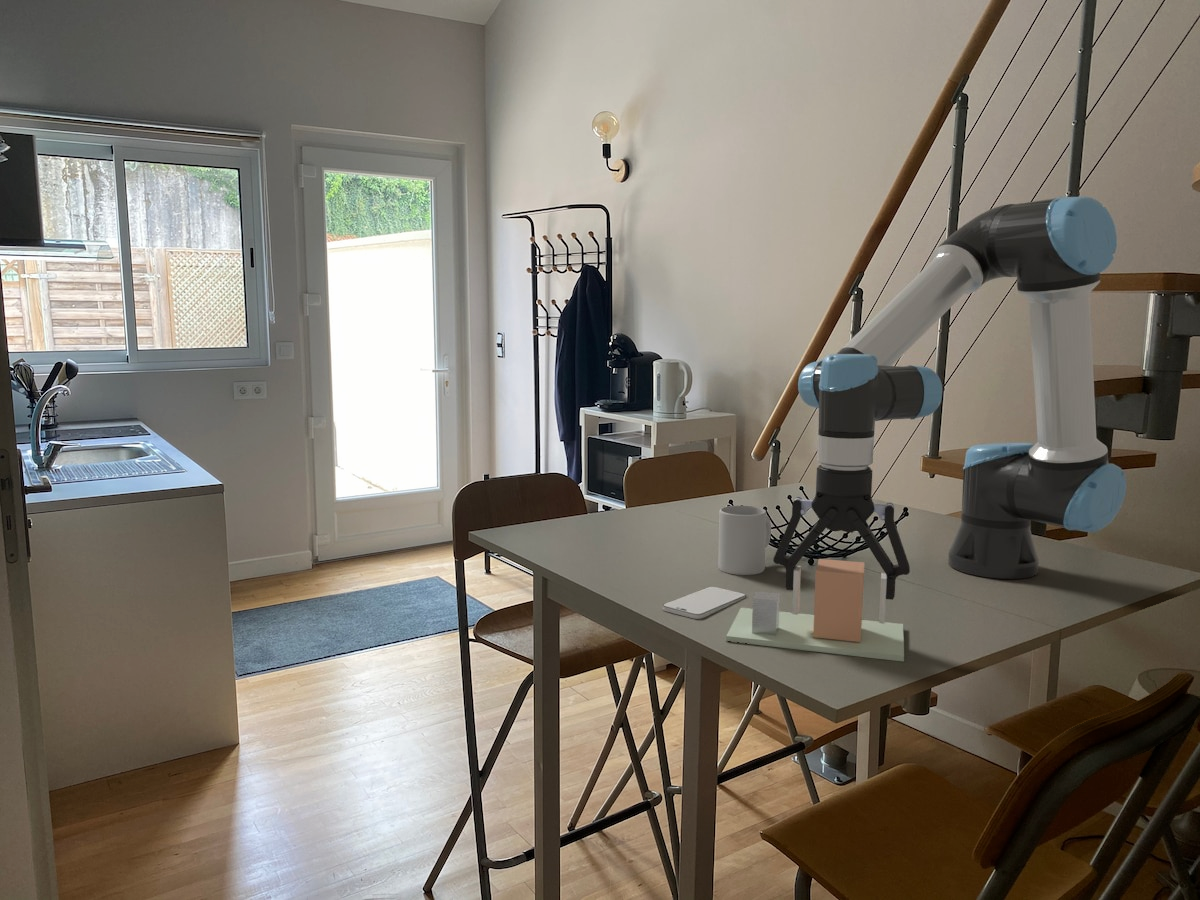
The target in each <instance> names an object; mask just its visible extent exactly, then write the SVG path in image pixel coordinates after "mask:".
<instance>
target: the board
mask: <svg viewBox="0 0 1200 900" xmlns="http://www.w3.org/2000/svg"><path fill="white" fill-rule="evenodd" d="M752 612H753V608H752V607H751V608H750V607H749V608H748V607H740V608H739V610H738V612H737V614H736V616H735V618H734V620H733V622H732V623H731V626H730V627H729V629H728V632H727V634H726V637H725V642H728V641H731V642H730V643H737V642H739V643H738V644H745V643H747V644H748V645H756V646H765V647H773V648H781V649H782V648H783V649H789V650H800V651H808V652H819V653H826V654H835V655H843V656H851V657H852V656H853V657H859V658H870V659H879V660H886V661H894V662H895V661H896V662H905V644H904V643H905V639H904V623H894V622H888V621H887V622H886V621H885V623H884V624H882V623H879V620H878V621H876V620H867V619H862V628H861V641H860V642H854V641H845V640H835V639H826V638H817V637H813V632H814V614H808V613H799V612H798V615H794V614H792V612H790V611H789V612H787V611H780V610H779V628H778V631H777V634H776V636H774V635H765V634H756V633H752ZM747 644H746V645H747Z"/></svg>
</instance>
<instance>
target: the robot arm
mask: <svg viewBox="0 0 1200 900" xmlns="http://www.w3.org/2000/svg"><path fill="white" fill-rule="evenodd" d="M1117 237H1118V236H1117V229H1116V225H1115V222H1114V219H1113V217H1112V215H1111V214H1110V212H1109V210H1108V209H1107V208H1106V207H1105V206H1103V203H1101V202H1100V201H1098V200H1097V199H1096V198H1093V197H1089V196H1060V197H1057V198H1056V197H1054V198H1048V199H1041V200H1035V201H1029V202H1022V203H1021V202H1020V203H1010V204H1002V205H999V206H996V207H992V208H990V209H988V210H986V211H983V212H982V213H980V214H979V215H977V216H975V217H974V218H972V219H971V220H969V221H968V222H966V223H965V224H963V225H962V226H961V227H960V228H958V229H957V230H955V231H954V232H953V233H952V234H950V236H948V237H946V239H945V240H944V241H943V242H941V243H940V244H939V245H938V246H937V247H936V248H935V249H934V250H933V252H932V253H931V255H930V259H929V263H928V265H926V266H925V267H924V268H923V269H921V271H920V272H919V273H918V274H917V275H916V276H915V277H914V278H913V279H912V280H911V281H910V282H909V283H908V284H907V285H906V286H905V287H903V289H901V290H900V291H899V292H898V293H897V294H896V295H895V296H894V297H893V298H892V299H891V300H890V301H889V302H888V303H887V304H886V305H885V306H884V307H883V308H882V309H881V310H880V311H879V312H878V313H877V314H876V315H874V317H873V318H872V319H871V320H869V322H868V323H866V325H864V326H863V327H862V328H861V329H860V330H859V332H857V333H856V334H855V335H854V336H853V337H852V338H851V339H850V340H849V341H848V342H847V343H846V344H845V345H843V347H841V348H840V350H839V351H837V353H831V354H828V355H826V356H825V357H824V358H822V360H819V361H813V362H810V363H808V364H807V365H805V367H804V368H802V371H801V372H800V374H799V377H798V382H797V386H798V387H797V389H798V390H797V391H798V393H799V396H800V398H801V400H802V401H803V403H805V405H807V406H809V407H812V408H815V409H818V431H817V432H818V434H817V448H816V449H817V451H816V452H817V454H816V455H817V457H816V461H817V462H818V463H819V464H820V465H818V466H817V467H816V479H815V496H814V498H812V499H803V498H801V497H800V496H797V497H795V498H794V500H793V502H792V504H791V505H792V507H791V508H792V509H791V517H790V520H789V521H788V524H787V527H786V529H785V530H784V533H783V536H782V538H781V540H780V542H779V546H778V547H777V550H776V552H775V554H774V557H773V563H774V564H777V565H781V566H782V567H784V569H785V589H786V591H792V609H791V611H792V612H791V613H792V614H794V615H798V613H799V612H800V605H801V600H800V599H801V573H802V569H801V568H802V566H801V565H797V564H798V563H799V562H800V561H801V559H802V558H803V557H804V555H806V553H807V552H808V551H809V549H810V548H811V547H812V546H813V544H814V543H815V542H816V541H817V540H818V538H819V536H820V535H822V533H823V532H824V531H825V530H826V529H827V530H829V532H839V531H840V532H841V531H842V532H846V533H854V532H857V533H858V535H859V536H860V537H861V538H862V539H863V541H864V542H865V544H866V545H867V547H868V549H869V550H870V551H871V553H872V555H873V557H874V558H875V559H876V561H877V562H878V564H879V566H880V567H881V568H882V569H881V570H883V572H880V573H881V574H880V575H881V576H880V590H879V591H880V592H879V594H880V595H879V610H878V611H879V612H878V613H879V614H878V622H879V623H882V624H884V623H885V622H886V621H885V620H886V602H887V600H892V601H893V600H894V598H895V595H896V594H895V593H896V581H897V578H898V577H899V576H907V575H909V574H910V570H911V568H910V567H911V566H910V563H909V561H908V557H907V553H906V552H905V548H904V545H903V543H902V539H901V537H900V533H899V531H898V528H897V524H896V522H895V505H894V504H893V503H892V502H887V503H886V504H884V503H883V504H881V503H879V504H878V503H874V501H873V499H872V491H873V490H872V489H873V486H872V485H873V469H872V468H871V467H870V466H871V465H872V464H873V463H874V448H875V447H874V443H875V427H876V422H878V421H891V420H907V419H910V420H915V419H919V418H922V417H923V418H924V417H928V416H931V415H933V414H934V413H935V412H936V410H937V409H938V408H939V407H940V405H941V403H942V398H943V384H942V381H941V379H940V377H939V375H938V374H937V373H936V372H935V370H933V369H932V368H930V367H927V366H917V365H907V366H906V365H905V366H899V365H897V366H893V365H894V364H895V363H896V362H897V361H898V360H900V358H901V357H902V356H903V355H904V354H906V353H907V351H908V350H909V349H910V348H912V347H913V345H914V344H915V343H916V342H918V341H919V339H920V338H921V337H922V336H923V335H924V334H925V333H927V331H929V330H930V328H932V327H933V326H934V325H935V324H936V323H937V321H939V320H940V319H941V318H942V317H943V316H944V315H945V314H946V313H947V312H948V310H950V309H951V308H952V307H953V306H954V305H955V304H956V303H957V302H959V301H958V300H960V299H961V298H962V297H963V296H964V295H969V294H973V293H975V292H977V291H978V290H979V289H980V287H982V286H983V285H985V283H987V282H989V281H993V280H997V279H1001V278H1006V277H1007V278H1016V286H1017V293H1019V294H1020V295H1021V296H1023V297H1024V298H1025V299H1027V301H1028V306H1029V307H1028V309H1029V310H1028V311H1029V322H1030V323H1029V325H1030V338H1031V341H1030V342H1031V354H1032V355H1031V357H1032V370H1033V372H1032V373H1033V383H1034V386H1033V388H1034V401H1035V415H1036V416H1035V417H1036V431H1037V432H1036V433H1037V435H1036V436H1037V441H1036V442H1035V443H1031V442H1002V443H987V444H986V443H984V444H983V443H982V444H976V445H973V446H971V447H969V448H968V449H967V450H966V452H965V459H964V465H963V467H962V471H963V474H962V475H963V476H962V477H963V478H962V479H963V480H962V492H961V493H962V496H961V497H962V499H961V515H960V524H959V527H958V528H957V531H956V534H955V536H954V539H953V542H952V543H951V545H950V549H949V551H948V559H947V560H948V565H949V566H950V567H951V568H953V569H955V570H957V571H959V572H962V573H964V574H969V575H974V576H976V577H977V576H978V577H984V578H991V579H992V578H993V579H1002V580H1004V579H1006V580H1008V579H1010V580H1012V579H1015V580H1016V579H1018V580H1019V579H1027V578H1028V579H1029V578H1031V577H1034V575H1035V576H1037V575H1038V573H1039V557H1038V553H1037V549H1036V546H1035V543H1034V538H1033V535H1032V531H1031V527H1032V526H1031V524H1032V523H1031V521H1032V522H1038V523H1041V524H1046V525H1049V526H1050V525H1051V526H1055V527H1057V528H1063V529H1066V530H1068V531H1080V532H1085V533H1095V532H1098V531H1100V530H1102V529H1104V528H1106V527H1107V526H1108V525H1110V523H1111V522H1112V521H1114V519H1115V518H1116V517H1117V514H1118V513H1119V511H1120V510H1121V508H1122V505H1123V502H1124V500H1125V497H1126V496H1125V495H1126V493H1127V478H1126V477H1127V476H1126V474H1125V472H1124V471H1123V469H1122V468H1121V467H1120V466H1118V465H1116V464H1115V463H1109V453H1108V452H1109V450H1108V447H1107V445H1105V444H1104V443H1103V442H1101V441H1100V440H1099V439H1098V438H1097V426H1096V423H1097V422H1096V400H1095V381H1094V376H1095V375H1094V360H1093V359H1094V357H1093V356H1094V355H1093V339H1092V338H1093V337H1092V320H1091V318H1092V317H1091V296H1090V294H1091V292H1092V291H1093V290H1094V289H1095V287H1097V286H1098V285H1099V284H1100V283H1101V273H1102V272H1104V271H1106V270H1107V269H1108V268H1109V267H1110V266H1111V264H1112V263H1113V260H1114V254H1115V253H1116V251H1117V244H1118V243H1117V242H1118V238H1117ZM810 509H812V510H813V512H814V513H815V514H816V516H817V518H818V520H817V522H816V523H815V524H814V526H813V527H812V528H811V530H809V532H808V533H807V534H806V535H805V537H804V538H803V540H802V541H801V542H800V544H798V546H797V547H796V548H795V550H794V551H793V552H792V553H791V555H790V556H789V555H787V554H786V552H787V551H788V549H789V547H790V543H791V541H792V538H793V536H794V534H795V531H796V530H797V527H798V525H799V522H800V520H801V518H802V516H804V515H806V514H807V513H808V511H809V510H810ZM874 513H876V514H877V515H878V518H879V520H881V521H884V526H885V529H886V530H885V531H886V532H887V535H888V538H889V541H890V544H891V547H892V550H893V553H894V556H895V559H896V562H897V564H893V562H892V561H891V559H890V557H889V556H888V555H887V553H886V551H885V550H884V548H883V546H882V545H881V544H880V542H879V540H878V539H877V537H876V536H875V534H874V533H873V531H872V529H871V527H870V525H869V524H868V522H867V521H868V519H869V518H870V517H871V516H872V515H873V514H874Z"/></svg>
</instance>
